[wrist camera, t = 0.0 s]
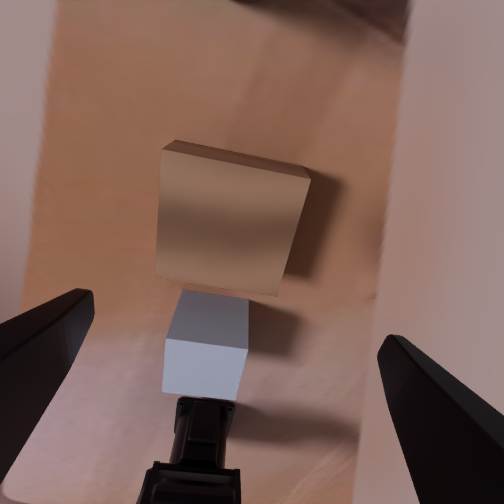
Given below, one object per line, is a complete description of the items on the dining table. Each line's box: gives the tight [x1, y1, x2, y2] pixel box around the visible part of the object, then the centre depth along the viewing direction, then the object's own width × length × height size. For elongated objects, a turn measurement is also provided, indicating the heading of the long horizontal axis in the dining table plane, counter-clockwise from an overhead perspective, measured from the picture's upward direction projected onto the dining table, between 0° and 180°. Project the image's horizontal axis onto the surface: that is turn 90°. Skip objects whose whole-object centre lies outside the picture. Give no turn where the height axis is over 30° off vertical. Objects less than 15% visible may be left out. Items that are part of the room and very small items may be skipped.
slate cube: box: [162, 289, 249, 401], centre depth 25 cm, size 6×6×6 cm
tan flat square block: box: [155, 140, 311, 296], centre depth 21 cm, size 9×9×4 cm
